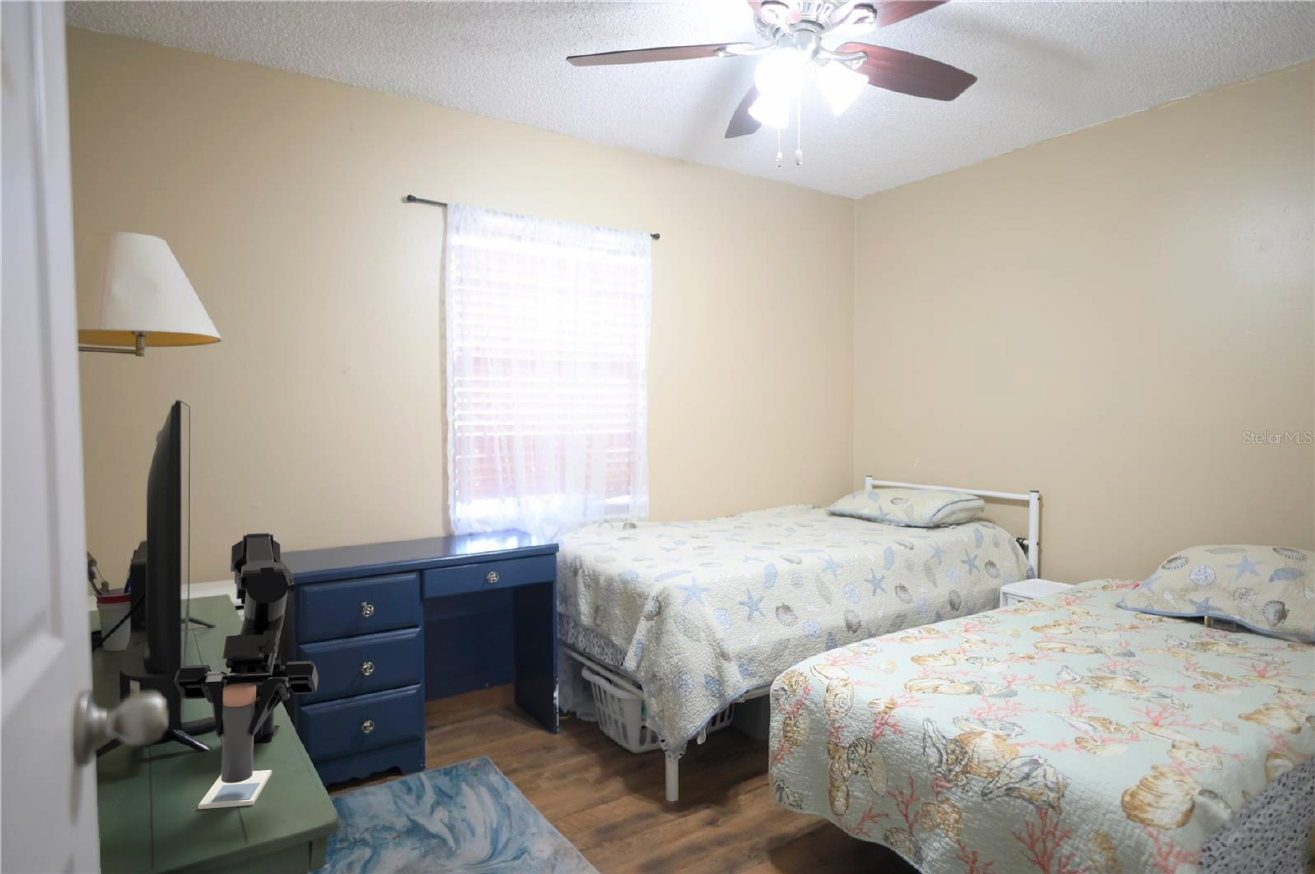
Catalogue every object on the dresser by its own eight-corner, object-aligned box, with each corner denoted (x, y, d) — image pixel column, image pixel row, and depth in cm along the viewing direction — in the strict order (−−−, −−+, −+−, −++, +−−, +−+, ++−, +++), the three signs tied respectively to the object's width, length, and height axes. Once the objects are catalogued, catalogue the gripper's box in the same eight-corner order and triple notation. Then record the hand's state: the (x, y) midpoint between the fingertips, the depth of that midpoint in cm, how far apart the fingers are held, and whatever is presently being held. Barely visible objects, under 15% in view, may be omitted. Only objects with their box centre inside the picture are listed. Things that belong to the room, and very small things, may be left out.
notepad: (221, 777, 115) (221, 772, 115) (271, 773, 117) (271, 769, 117) (198, 809, 105) (198, 804, 105) (252, 805, 107) (253, 800, 107)
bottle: (225, 771, 111) (228, 683, 111) (256, 769, 112) (259, 682, 112) (216, 784, 107) (219, 693, 106) (248, 782, 108) (251, 692, 107)
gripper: (180, 611, 111) (146, 714, 100) (316, 609, 115) (297, 706, 104) (198, 649, 118) (168, 748, 108) (325, 645, 123) (308, 740, 112)
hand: (235, 735), depth 108 cm, fingers closed on bottle, 4 cm apart
